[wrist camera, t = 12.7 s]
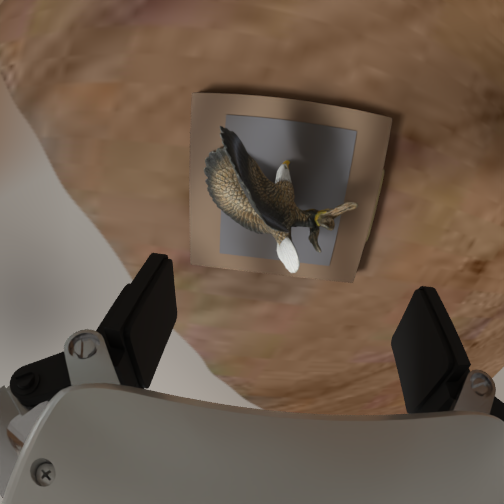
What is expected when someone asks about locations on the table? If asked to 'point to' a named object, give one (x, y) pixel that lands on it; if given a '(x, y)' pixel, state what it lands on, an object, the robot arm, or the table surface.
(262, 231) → the eagle figurine
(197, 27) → the table surface
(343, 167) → the wooden picture frame
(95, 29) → the table surface
